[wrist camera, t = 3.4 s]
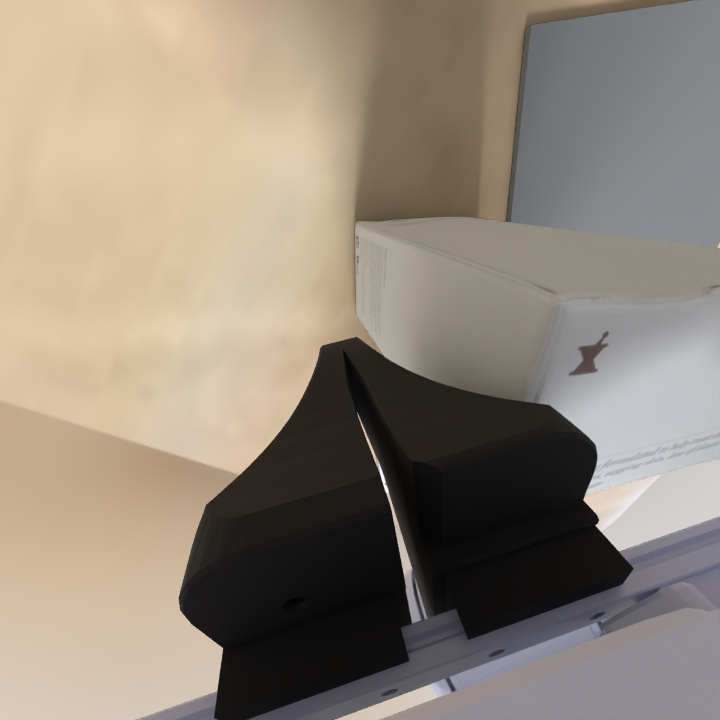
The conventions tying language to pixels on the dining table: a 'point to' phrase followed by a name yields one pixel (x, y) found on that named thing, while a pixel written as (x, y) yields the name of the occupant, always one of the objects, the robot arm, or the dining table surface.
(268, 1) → the dining table surface
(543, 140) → the mat
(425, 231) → the skincare box
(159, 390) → the dining table surface
